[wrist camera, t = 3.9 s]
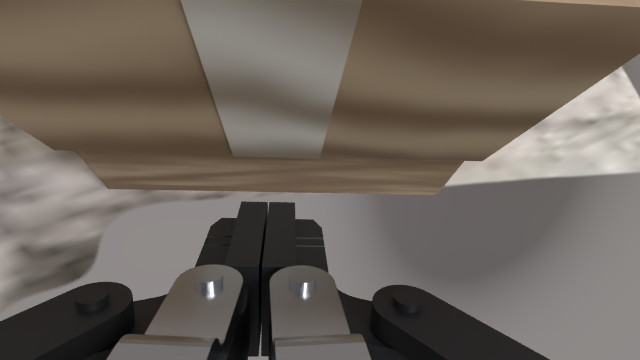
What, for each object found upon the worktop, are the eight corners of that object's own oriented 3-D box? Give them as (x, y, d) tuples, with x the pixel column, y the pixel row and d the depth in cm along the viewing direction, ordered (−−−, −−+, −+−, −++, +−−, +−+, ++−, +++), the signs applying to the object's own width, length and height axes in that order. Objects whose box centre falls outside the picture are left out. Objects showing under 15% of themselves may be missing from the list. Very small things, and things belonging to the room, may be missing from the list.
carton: (436, 194, 33) (473, 150, 27) (108, 188, 31) (65, 138, 25) (416, 51, 39) (442, -14, 33) (139, 38, 37) (111, -34, 31)
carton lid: (480, 148, 27) (482, 162, 26) (56, 136, 25) (53, 151, 24) (696, -13, 13) (702, 13, 13) (-232, -72, 11) (-244, -41, 11)
